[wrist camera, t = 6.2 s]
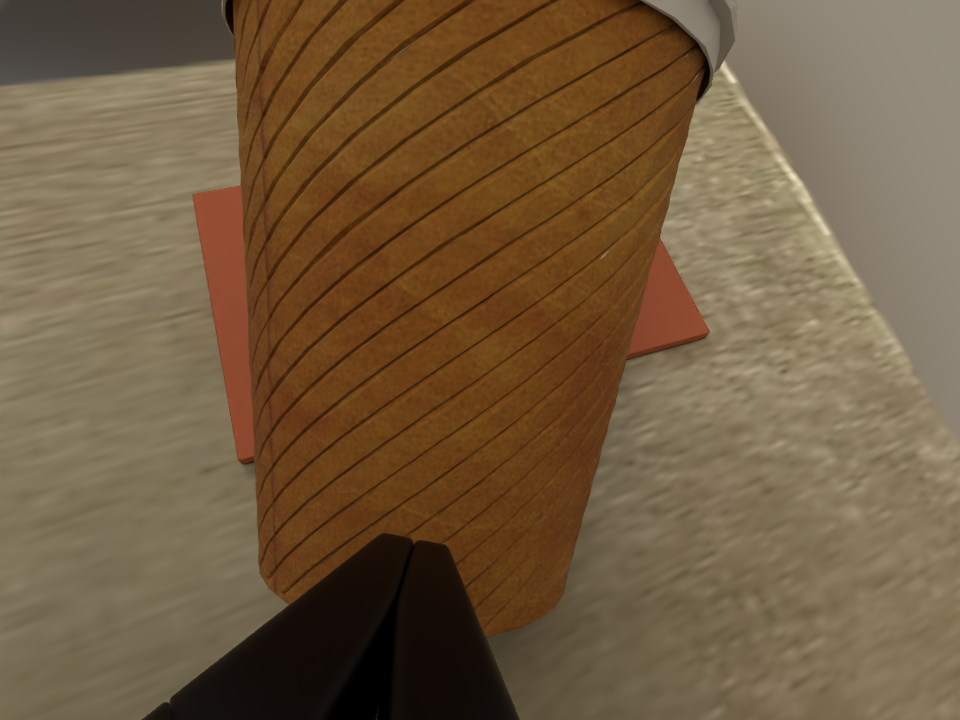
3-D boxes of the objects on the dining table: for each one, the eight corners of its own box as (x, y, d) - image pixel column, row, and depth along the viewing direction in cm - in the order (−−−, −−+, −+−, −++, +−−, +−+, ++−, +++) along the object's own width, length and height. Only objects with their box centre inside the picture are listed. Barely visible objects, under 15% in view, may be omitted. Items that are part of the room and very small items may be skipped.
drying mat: (705, 338, 19) (710, 332, 19) (242, 465, 17) (237, 460, 16) (594, 127, 23) (597, 119, 23) (195, 202, 20) (192, 193, 20)
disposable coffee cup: (535, 490, 19) (588, 86, 18) (759, 682, 10) (896, -100, 9) (197, 484, 16) (234, 0, 15) (95, 749, 7) (164, -407, 6)
